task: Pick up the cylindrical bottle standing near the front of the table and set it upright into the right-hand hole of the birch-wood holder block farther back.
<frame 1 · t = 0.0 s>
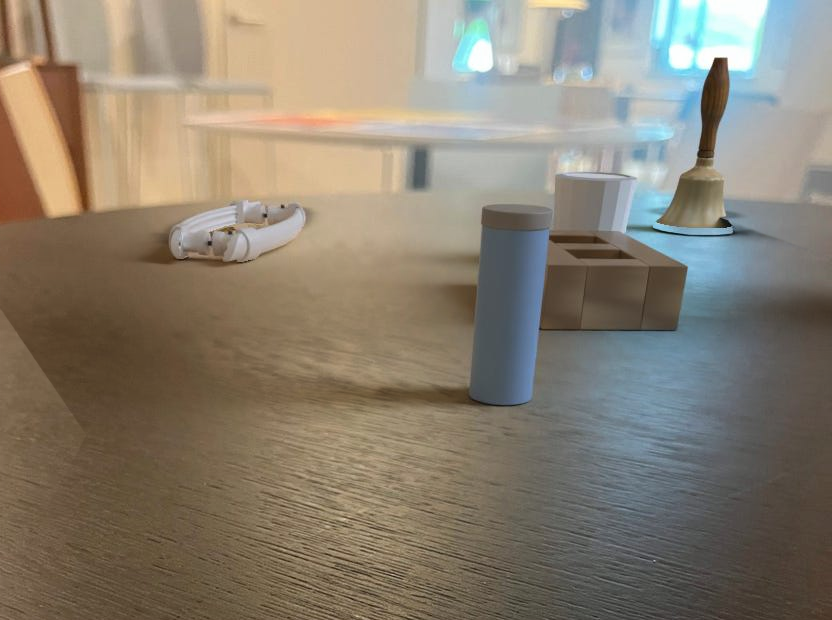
hand bell: (692, 232, 108), on the table
cylindrical bottle: (500, 396, 52), on the table
white oval frame: (243, 245, 95), on the table
holder: (580, 305, 73), on the table
white faceted cup: (584, 265, 89), on the table
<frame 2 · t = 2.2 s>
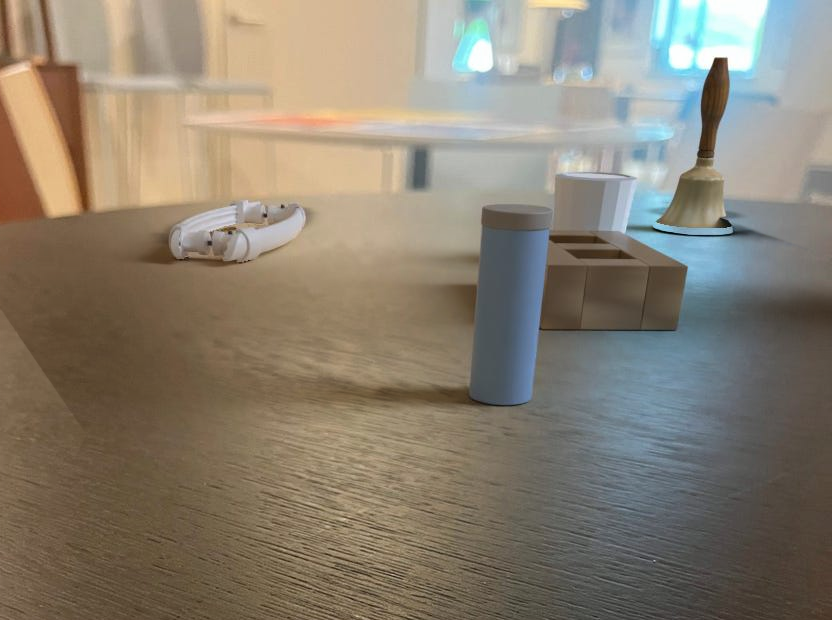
nothing on the table moved.
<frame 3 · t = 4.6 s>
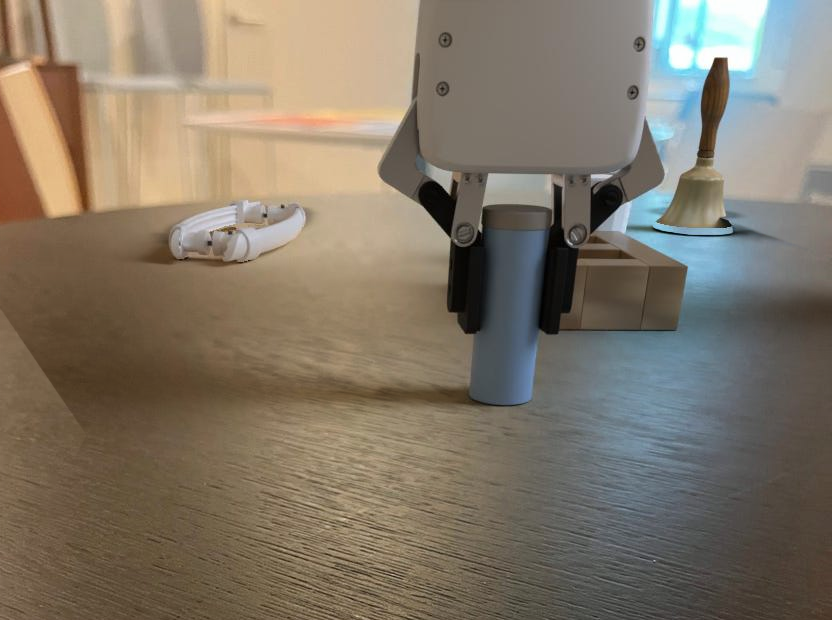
hand: (506, 324, 51), 4 cm above the table, tool pointing down, fingers closed on cylindrical bottle, 3 cm apart
cylindrical bottle: (500, 396, 52), on the table, touching gripper
everything else where it was.
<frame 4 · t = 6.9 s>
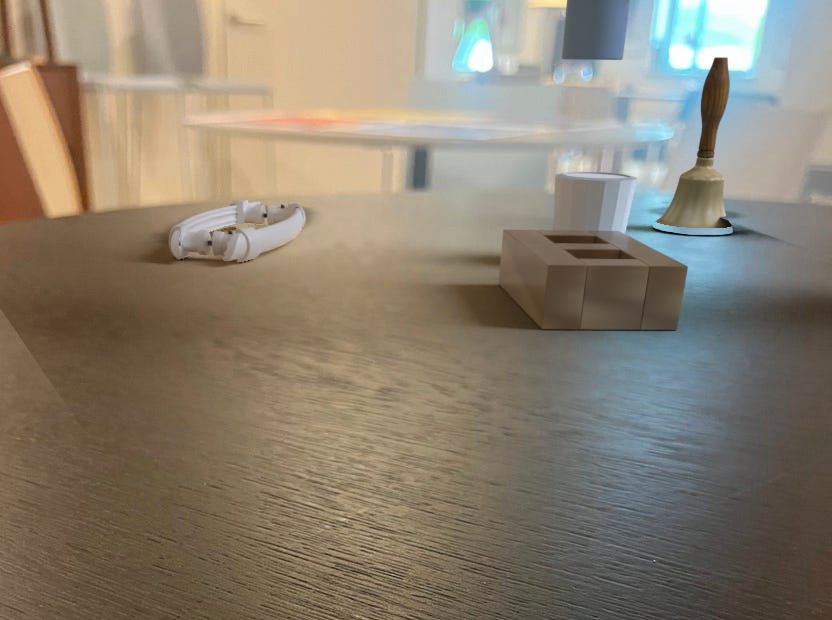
cylindrical bottle: (591, 59, 54), point 15 cm above the table, touching gripper
everything else where it was.
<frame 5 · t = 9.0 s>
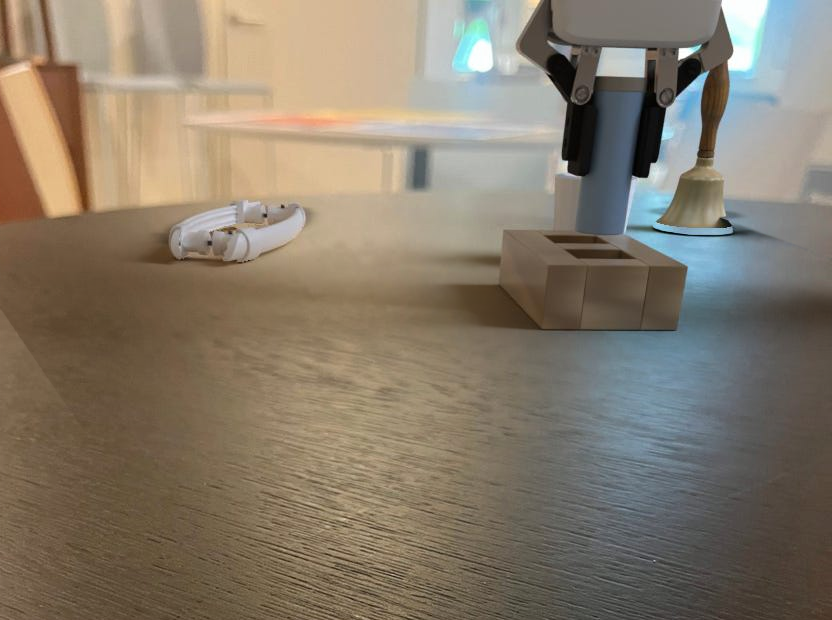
hand: (607, 172, 66), 9 cm above the table, tool pointing down, fingers closed on cylindrical bottle, 3 cm apart
cylindrical bottle: (598, 231, 67), point 5 cm above the table, touching gripper
everything else where it was.
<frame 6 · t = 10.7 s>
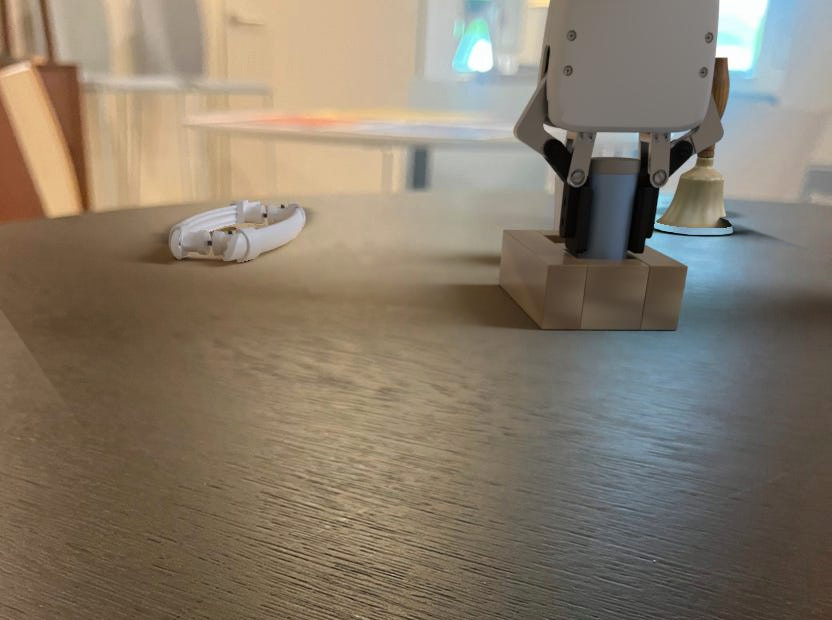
hand: (603, 247, 68), 4 cm above the table, tool pointing down, fingers closed on cylindrical bottle, 3 cm apart
cylindrical bottle: (596, 303, 70), point 1 cm above the table, touching gripper
everything else where it was.
when the fingers open (5 cm above the table, at t = 13.6 s): cylindrical bottle drops 1 cm, resting in holder.
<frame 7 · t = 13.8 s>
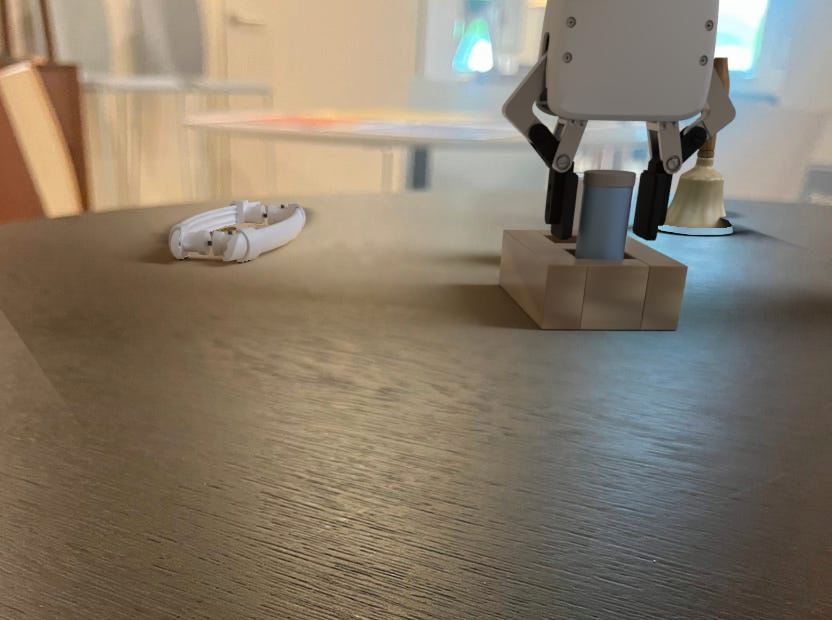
hand: (602, 234, 68), 5 cm above the table, tool pointing down, fingers open, 5 cm apart
cylindrical bottle: (591, 315, 70), resting in holder
everything else where it was.
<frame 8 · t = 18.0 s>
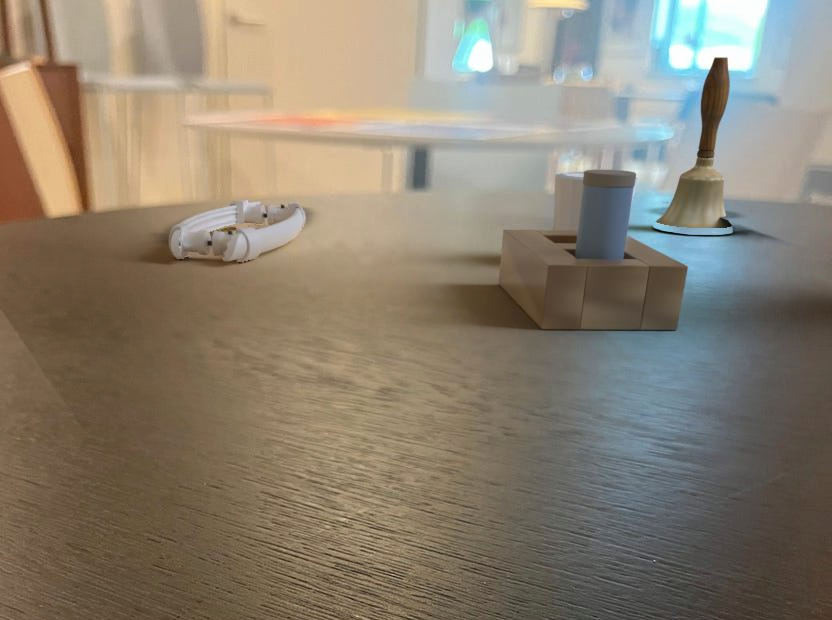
nothing on the table moved.
at the end: cylindrical bottle 0.0 cm from the target spot in the holder, point 0.0 cm above the holder's base; cylindrical bottle tilted 0°; the gripper is holding nothing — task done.
